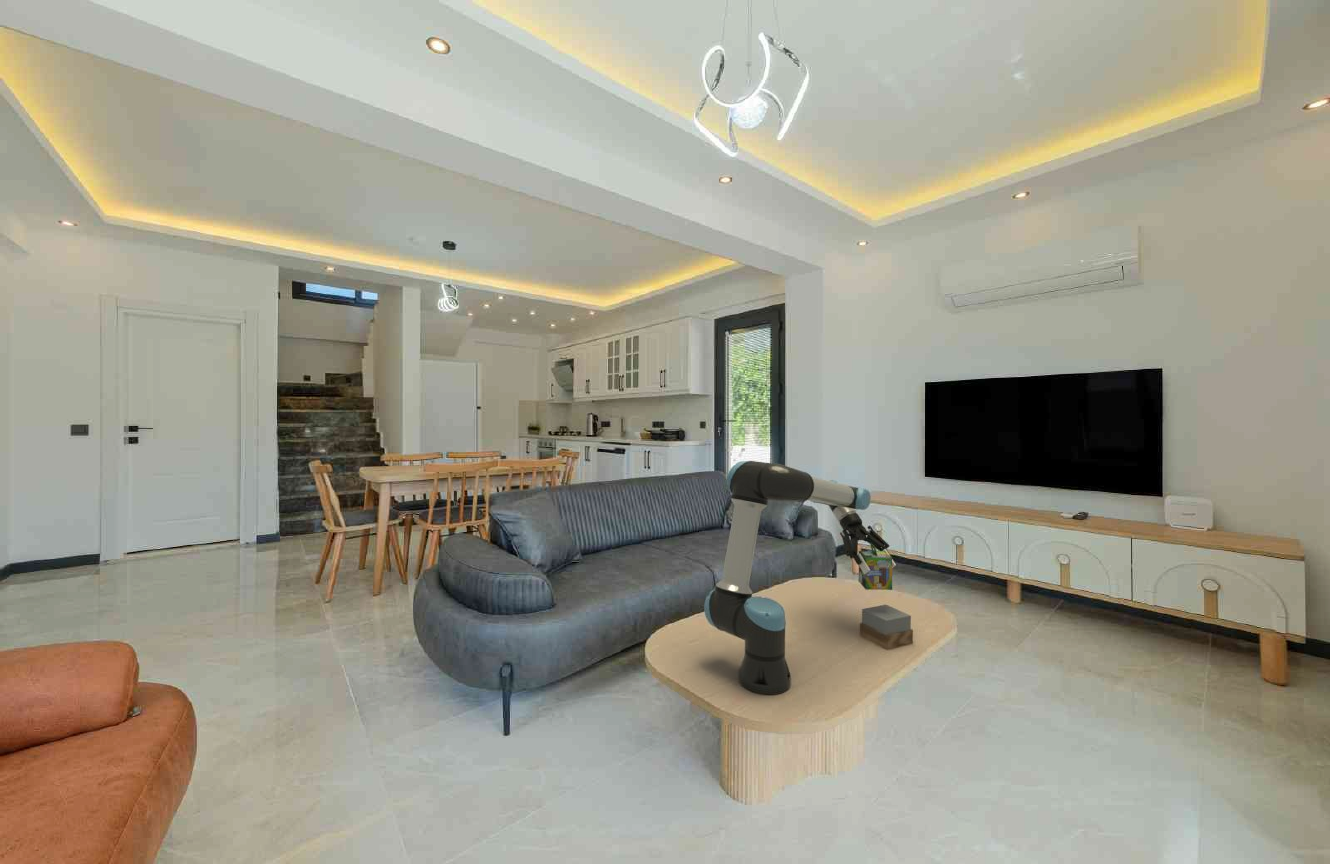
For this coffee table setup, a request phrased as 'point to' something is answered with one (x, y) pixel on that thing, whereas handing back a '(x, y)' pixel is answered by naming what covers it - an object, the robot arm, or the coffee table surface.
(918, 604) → the coffee table surface
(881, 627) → the tower top slab
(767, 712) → the coffee table surface
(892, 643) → the tower bottom slab
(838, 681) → the coffee table surface
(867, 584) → the chalk box
